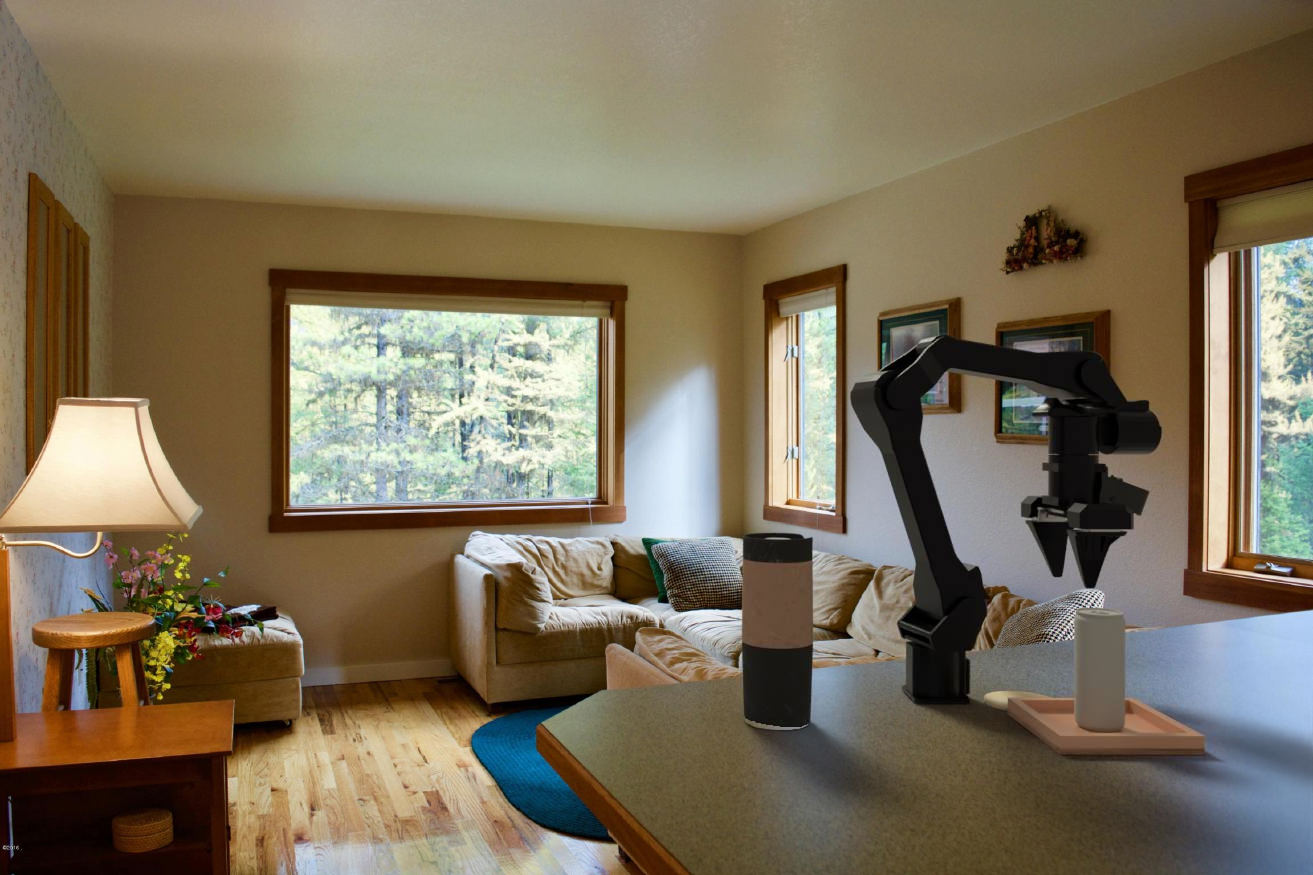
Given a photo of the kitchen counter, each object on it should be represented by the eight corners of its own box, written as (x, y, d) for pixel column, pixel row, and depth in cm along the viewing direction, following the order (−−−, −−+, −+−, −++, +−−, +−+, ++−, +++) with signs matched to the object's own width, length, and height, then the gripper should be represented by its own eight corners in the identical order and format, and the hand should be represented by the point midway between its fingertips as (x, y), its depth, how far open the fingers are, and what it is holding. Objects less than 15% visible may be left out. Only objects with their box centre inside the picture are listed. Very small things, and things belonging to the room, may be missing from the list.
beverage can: (1119, 736, 99) (1119, 617, 99) (1068, 727, 102) (1069, 612, 102) (1129, 725, 103) (1129, 610, 103) (1080, 717, 105) (1081, 605, 105)
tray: (1060, 754, 95) (1060, 735, 95) (1007, 713, 109) (1007, 697, 109) (1204, 754, 95) (1204, 736, 95) (1133, 713, 109) (1133, 697, 109)
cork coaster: (998, 713, 109) (998, 709, 109) (974, 694, 117) (974, 690, 117) (1070, 713, 109) (1070, 709, 109) (1041, 694, 117) (1041, 690, 117)
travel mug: (730, 725, 104) (730, 537, 104) (757, 708, 111) (757, 531, 111) (798, 735, 101) (799, 540, 101) (822, 717, 107) (823, 534, 107)
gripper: (1180, 456, 111) (1179, 594, 111) (1103, 453, 129) (1103, 572, 129) (1081, 456, 111) (1081, 594, 111) (1019, 453, 129) (1019, 571, 129)
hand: (1073, 582), depth 120 cm, fingers open, 9 cm apart
